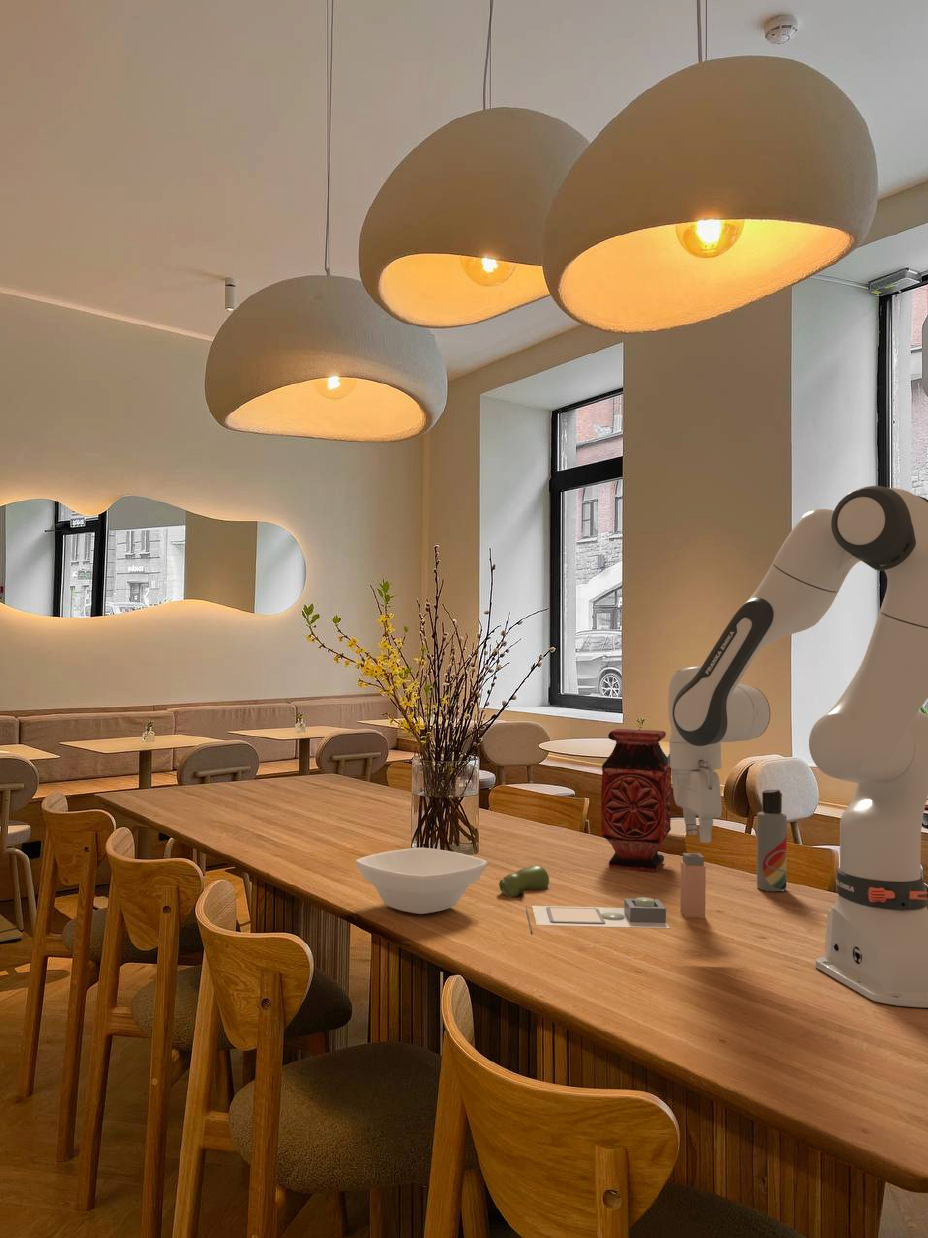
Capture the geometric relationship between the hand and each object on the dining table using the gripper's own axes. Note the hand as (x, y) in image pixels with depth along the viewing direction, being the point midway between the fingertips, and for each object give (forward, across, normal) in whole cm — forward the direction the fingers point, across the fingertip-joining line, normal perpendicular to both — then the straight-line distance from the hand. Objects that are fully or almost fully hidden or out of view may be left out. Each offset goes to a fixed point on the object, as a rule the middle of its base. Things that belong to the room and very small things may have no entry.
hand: (698, 838), depth 160 cm
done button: (+12, -2, +10) cm, 16 cm away
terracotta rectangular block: (+14, +1, +1) cm, 15 cm away
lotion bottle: (+14, +26, -21) cm, 36 cm away
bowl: (+13, +5, +49) cm, 51 cm away
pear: (+13, +18, +30) cm, 37 cm away
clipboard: (+14, -2, +18) cm, 23 cm away
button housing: (+13, -2, +10) cm, 17 cm away
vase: (+13, +45, +3) cm, 47 cm away
